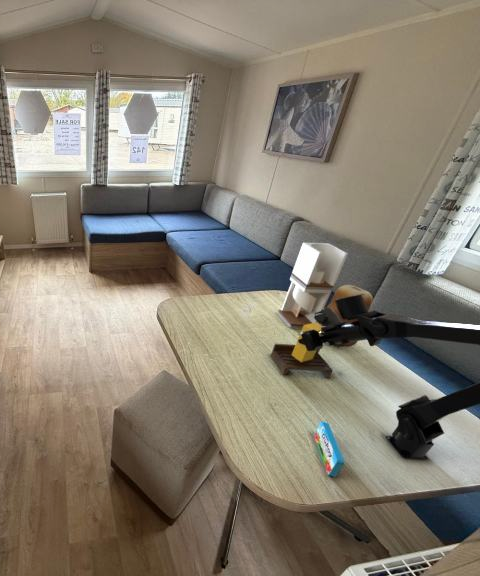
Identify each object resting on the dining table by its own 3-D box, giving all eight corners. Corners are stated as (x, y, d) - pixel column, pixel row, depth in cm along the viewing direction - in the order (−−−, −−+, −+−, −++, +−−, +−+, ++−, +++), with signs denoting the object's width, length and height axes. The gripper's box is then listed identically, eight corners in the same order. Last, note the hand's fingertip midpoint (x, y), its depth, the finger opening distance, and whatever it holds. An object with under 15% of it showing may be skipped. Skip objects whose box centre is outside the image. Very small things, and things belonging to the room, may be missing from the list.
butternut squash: (347, 338, 128) (375, 285, 116) (356, 357, 117) (387, 301, 105) (309, 329, 133) (331, 277, 121) (314, 347, 122) (339, 292, 110)
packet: (312, 359, 108) (326, 328, 102) (301, 362, 107) (314, 331, 101) (302, 352, 112) (315, 322, 106) (291, 355, 110) (303, 325, 104)
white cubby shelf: (277, 313, 144) (303, 242, 127) (300, 314, 144) (329, 243, 127) (289, 327, 134) (319, 252, 117) (314, 328, 133) (347, 253, 117)
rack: (329, 378, 107) (336, 365, 104) (282, 374, 108) (287, 361, 105) (313, 358, 116) (319, 346, 113) (270, 356, 117) (274, 343, 114)
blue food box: (334, 477, 76) (344, 462, 74) (328, 475, 77) (337, 460, 74) (319, 436, 87) (327, 421, 84) (313, 435, 87) (321, 420, 84)
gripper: (359, 302, 98) (315, 313, 112) (317, 311, 92) (276, 322, 106) (375, 336, 95) (327, 343, 109) (332, 348, 89) (288, 354, 104)
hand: (304, 339), depth 107 cm, fingers closed on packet, 5 cm apart
